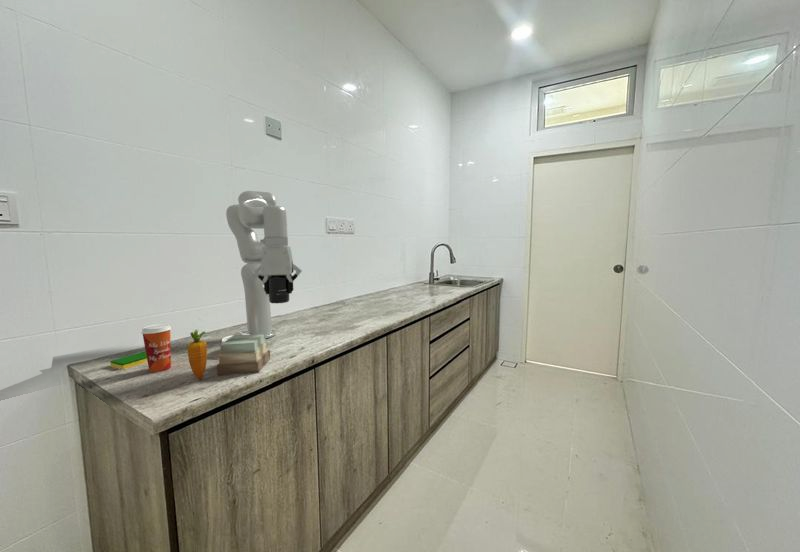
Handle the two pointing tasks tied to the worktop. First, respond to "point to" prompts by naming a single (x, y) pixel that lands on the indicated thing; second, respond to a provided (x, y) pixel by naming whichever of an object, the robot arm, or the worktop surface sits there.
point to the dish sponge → (129, 361)
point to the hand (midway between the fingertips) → (279, 292)
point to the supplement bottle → (278, 289)
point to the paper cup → (157, 346)
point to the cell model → (232, 335)
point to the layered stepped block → (243, 354)
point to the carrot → (197, 354)
